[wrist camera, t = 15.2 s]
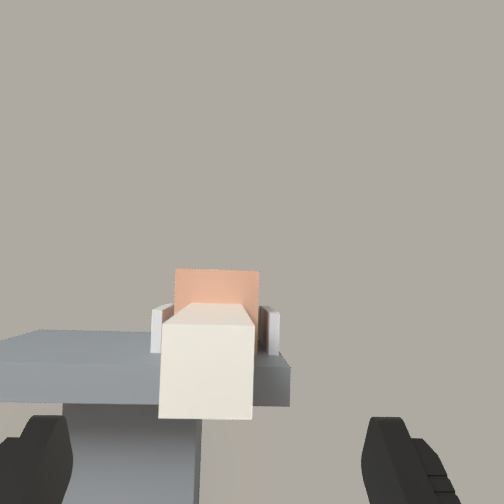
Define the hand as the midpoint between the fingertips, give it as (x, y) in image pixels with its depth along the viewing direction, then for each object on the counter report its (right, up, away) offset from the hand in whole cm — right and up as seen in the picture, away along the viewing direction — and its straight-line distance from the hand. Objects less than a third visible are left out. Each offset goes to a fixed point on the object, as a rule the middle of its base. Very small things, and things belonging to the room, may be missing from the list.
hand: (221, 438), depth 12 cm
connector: (-1, -1, +11) cm, 11 cm away
